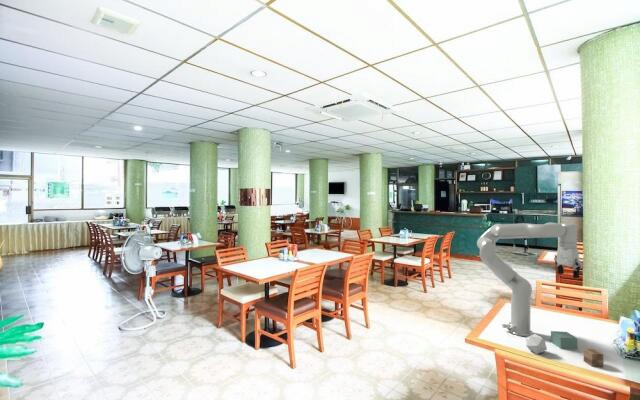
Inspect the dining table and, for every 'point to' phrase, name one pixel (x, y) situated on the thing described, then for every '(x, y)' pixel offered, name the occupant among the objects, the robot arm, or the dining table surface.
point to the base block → (563, 340)
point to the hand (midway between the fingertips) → (568, 275)
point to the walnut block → (593, 357)
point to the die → (535, 344)
